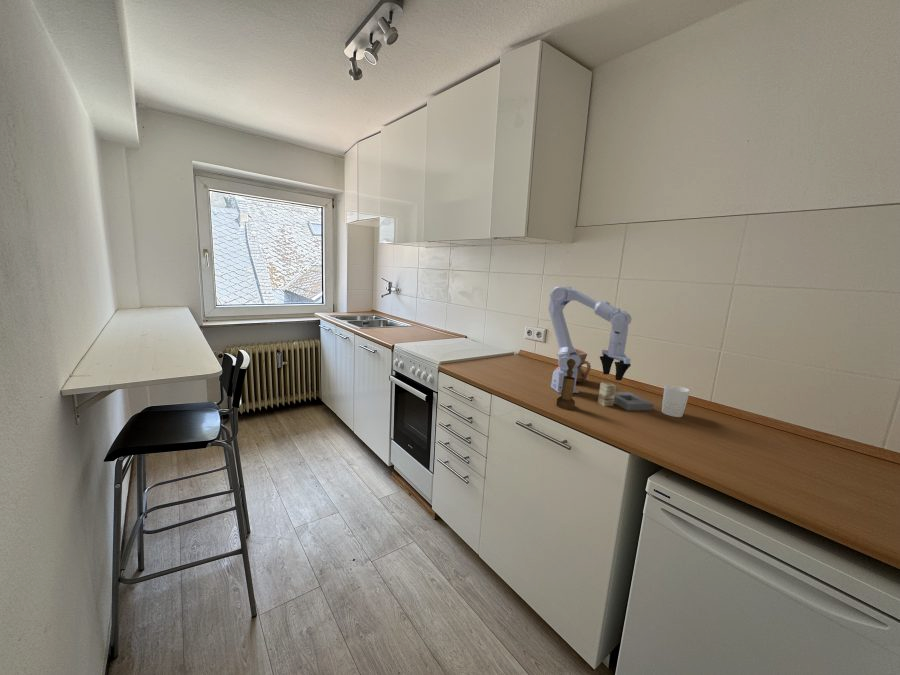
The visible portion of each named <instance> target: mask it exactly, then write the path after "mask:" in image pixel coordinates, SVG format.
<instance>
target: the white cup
mask: <svg viewBox="0 0 900 675" xmlns="http://www.w3.org/2000/svg"><path fill="white" fill-rule="evenodd" d="M690 391H691V390H690V389H689V388H687V387H683V386H680V385H674V384H666V385H664V388H663V395H662V396H663V397H662V403H661V404H662V406H661V413H662V414H664V415H667V416H670V417H674V418H682V417H683V415H684V412H685V409H686V405H687V402H688V399H689V396H690Z"/></svg>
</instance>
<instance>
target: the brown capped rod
mask: <svg viewBox="0 0 900 675" xmlns="http://www.w3.org/2000/svg"><path fill="white" fill-rule="evenodd" d="M567 366H568V370H567V376H564V379H563V386H562V393H560V395H561V396H559V397H557V398H556V404H555V405H556V406H557V407H559V408H560V409H563V410H574V409H575V406H576V401H575V399H573V394H574V393H573V388H574V382H575V378H574V377H572V375H573V371H572V369H573V367H574V366H575V360H573V359H569V360H568V361H567Z"/></svg>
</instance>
